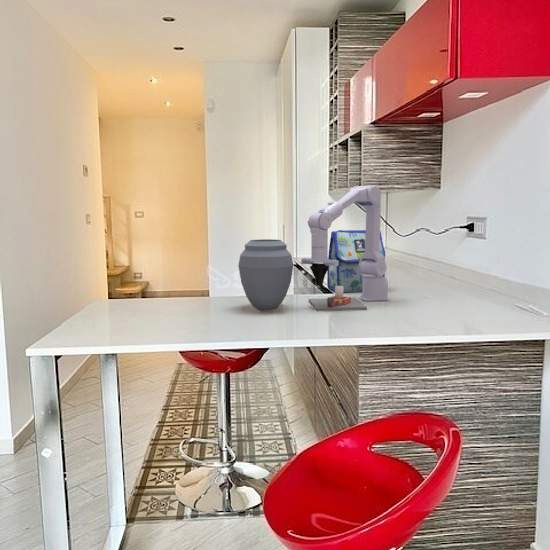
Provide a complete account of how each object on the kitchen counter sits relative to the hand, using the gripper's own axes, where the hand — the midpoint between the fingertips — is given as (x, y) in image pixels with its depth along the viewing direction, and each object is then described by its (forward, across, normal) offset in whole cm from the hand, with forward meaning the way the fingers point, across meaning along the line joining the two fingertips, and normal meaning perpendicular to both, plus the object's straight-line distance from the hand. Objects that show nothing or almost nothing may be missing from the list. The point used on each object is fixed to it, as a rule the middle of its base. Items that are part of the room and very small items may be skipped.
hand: (319, 285), depth 190 cm
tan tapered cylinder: (+8, +6, +4) cm, 11 cm away
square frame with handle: (+7, +3, +5) cm, 10 cm away
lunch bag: (+9, -10, +43) cm, 45 cm away
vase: (+8, -15, -12) cm, 21 cm away
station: (+8, +3, +9) cm, 12 cm away
